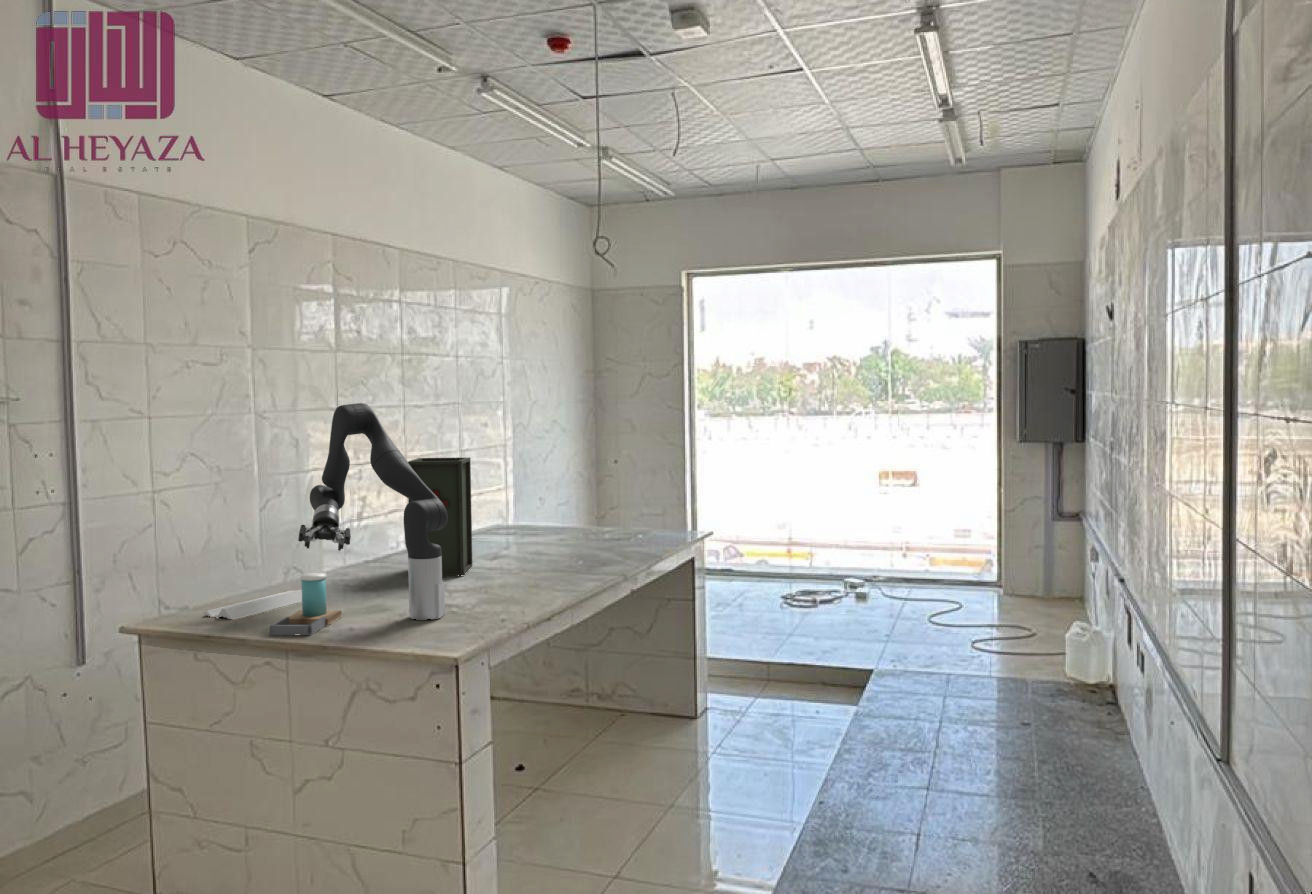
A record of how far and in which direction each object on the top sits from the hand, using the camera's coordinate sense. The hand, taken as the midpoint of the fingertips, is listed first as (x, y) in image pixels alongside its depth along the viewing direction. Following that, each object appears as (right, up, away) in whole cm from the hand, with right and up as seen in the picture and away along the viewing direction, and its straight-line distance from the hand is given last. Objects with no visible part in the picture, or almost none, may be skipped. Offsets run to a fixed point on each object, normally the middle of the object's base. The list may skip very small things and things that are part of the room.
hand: (324, 546), depth 271 cm
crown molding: (-22, -20, +12) cm, 32 cm away
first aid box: (+19, -16, +66) cm, 70 cm away
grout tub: (0, -18, -7) cm, 19 cm away
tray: (-1, -21, -18) cm, 27 cm away
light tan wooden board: (0, -20, -8) cm, 21 cm away
